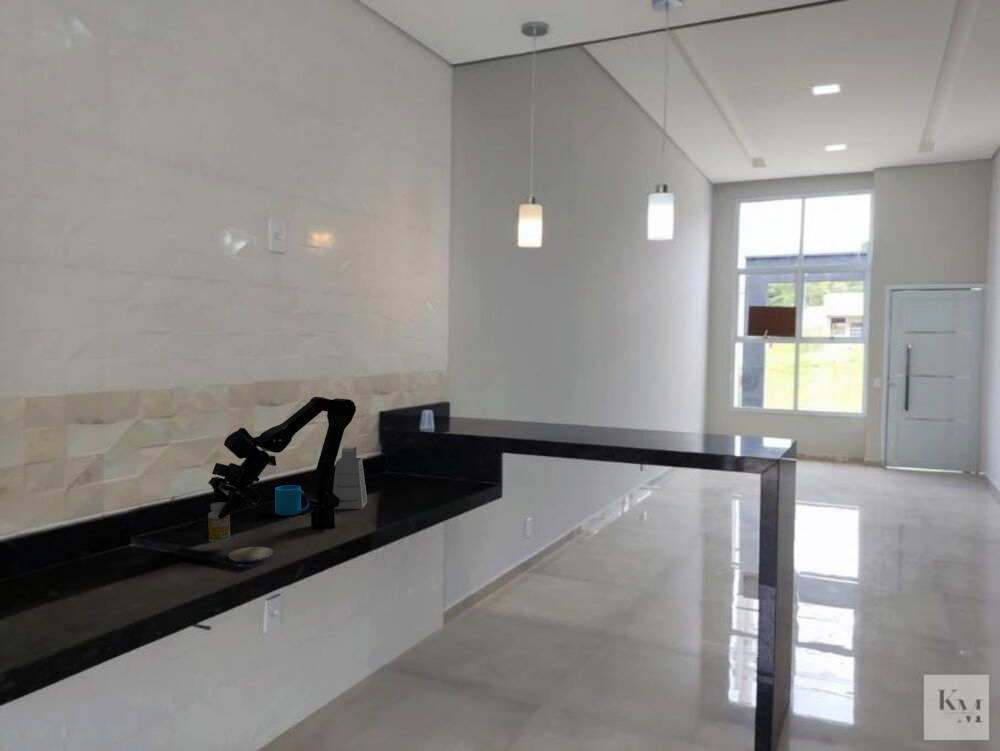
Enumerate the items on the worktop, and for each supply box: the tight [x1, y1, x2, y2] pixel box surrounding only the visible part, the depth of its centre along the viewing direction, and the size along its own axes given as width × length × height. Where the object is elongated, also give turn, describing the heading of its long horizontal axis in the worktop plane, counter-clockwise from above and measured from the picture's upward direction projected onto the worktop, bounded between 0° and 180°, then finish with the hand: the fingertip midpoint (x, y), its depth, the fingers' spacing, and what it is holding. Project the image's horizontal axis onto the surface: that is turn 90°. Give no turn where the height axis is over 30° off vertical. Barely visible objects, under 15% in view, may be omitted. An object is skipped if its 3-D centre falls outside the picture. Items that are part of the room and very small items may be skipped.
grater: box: [333, 445, 368, 510], centre depth 248 cm, size 10×10×20 cm
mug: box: [274, 484, 311, 516], centre depth 237 cm, size 12×8×8 cm
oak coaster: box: [227, 546, 274, 561], centre depth 189 cm, size 11×11×1 cm
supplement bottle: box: [207, 502, 231, 543], centre depth 195 cm, size 5×5×10 cm
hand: (214, 516), depth 194 cm, fingers closed on supplement bottle, 5 cm apart
